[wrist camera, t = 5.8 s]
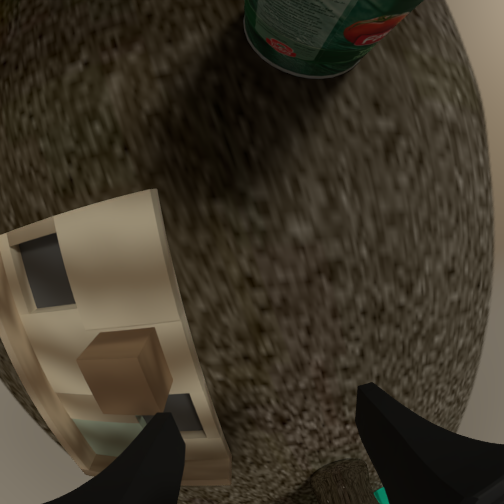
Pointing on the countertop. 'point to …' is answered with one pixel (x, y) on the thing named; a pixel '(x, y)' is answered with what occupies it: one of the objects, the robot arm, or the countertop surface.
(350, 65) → the canned tomato
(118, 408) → the block
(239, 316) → the countertop surface
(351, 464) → the beer glass
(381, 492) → the candle
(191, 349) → the wooden flat frame
